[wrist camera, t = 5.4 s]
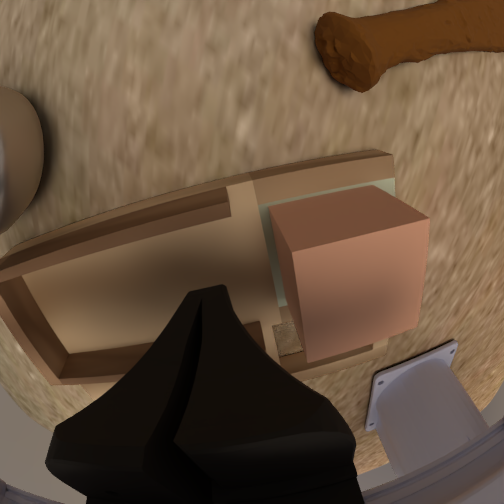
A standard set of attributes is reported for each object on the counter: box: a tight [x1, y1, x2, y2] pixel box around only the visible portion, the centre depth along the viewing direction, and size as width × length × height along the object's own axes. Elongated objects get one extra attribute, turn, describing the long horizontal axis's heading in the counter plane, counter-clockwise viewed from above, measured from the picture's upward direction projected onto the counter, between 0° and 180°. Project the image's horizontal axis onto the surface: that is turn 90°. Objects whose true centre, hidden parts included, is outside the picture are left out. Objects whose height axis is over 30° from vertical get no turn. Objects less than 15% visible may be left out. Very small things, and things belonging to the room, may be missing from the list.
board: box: [0, 150, 395, 401], centre depth 13 cm, size 12×19×4 cm, turn 102°
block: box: [268, 185, 430, 363], centre depth 11 cm, size 4×4×4 cm
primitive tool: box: [314, 0, 504, 93], centre depth 8 cm, size 19×6×4 cm, turn 120°
